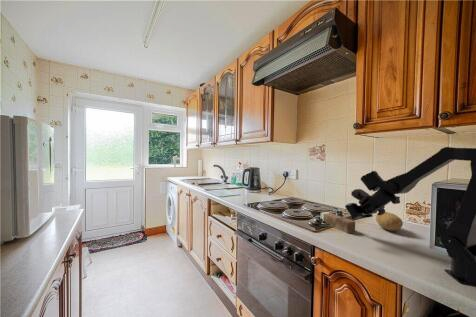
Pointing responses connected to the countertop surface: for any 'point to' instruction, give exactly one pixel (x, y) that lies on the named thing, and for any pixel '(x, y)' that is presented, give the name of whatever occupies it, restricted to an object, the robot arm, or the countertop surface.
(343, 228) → the walnut block
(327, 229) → the countertop surface
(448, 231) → the robot arm
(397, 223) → the potato
